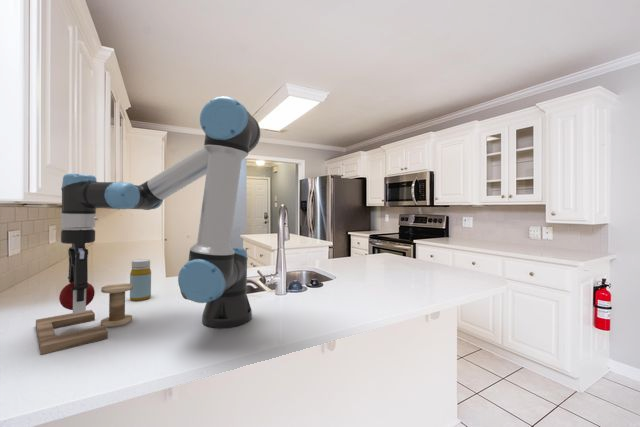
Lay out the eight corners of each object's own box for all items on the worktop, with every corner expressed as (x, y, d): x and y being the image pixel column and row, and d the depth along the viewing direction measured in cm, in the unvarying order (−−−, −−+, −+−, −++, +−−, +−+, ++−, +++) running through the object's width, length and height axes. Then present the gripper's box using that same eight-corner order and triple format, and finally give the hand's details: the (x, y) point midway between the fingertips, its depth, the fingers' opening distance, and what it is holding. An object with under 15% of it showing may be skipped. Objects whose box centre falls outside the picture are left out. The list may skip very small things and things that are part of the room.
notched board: (107, 338, 78) (107, 330, 78) (40, 354, 69) (40, 346, 69) (91, 315, 95) (91, 309, 95) (35, 326, 86) (35, 319, 86)
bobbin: (135, 322, 90) (136, 286, 90) (103, 329, 84) (104, 291, 84) (128, 315, 96) (129, 282, 96) (98, 321, 90) (98, 286, 90)
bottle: (154, 296, 117) (155, 259, 117) (142, 301, 110) (143, 262, 110) (138, 295, 118) (139, 258, 118) (125, 300, 111) (126, 261, 111)
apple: (61, 315, 78) (61, 285, 78) (57, 308, 83) (58, 280, 83) (96, 309, 83) (97, 281, 83) (91, 303, 89) (91, 276, 89)
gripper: (102, 230, 79) (100, 315, 79) (88, 226, 93) (87, 298, 93) (65, 231, 73) (63, 322, 73) (57, 227, 88) (55, 303, 88)
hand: (76, 308), depth 83 cm, fingers closed on apple, 8 cm apart
